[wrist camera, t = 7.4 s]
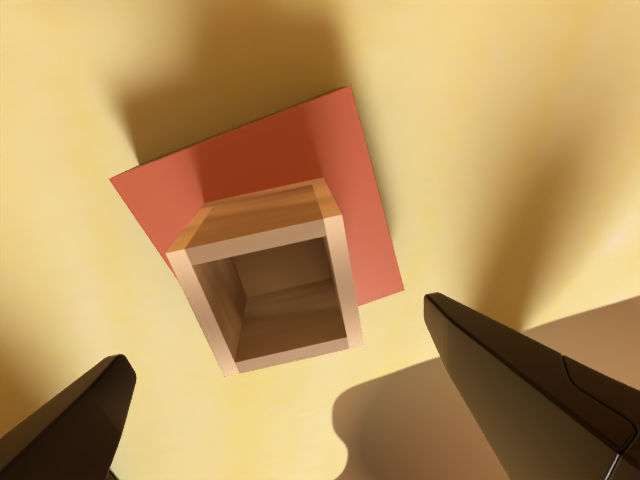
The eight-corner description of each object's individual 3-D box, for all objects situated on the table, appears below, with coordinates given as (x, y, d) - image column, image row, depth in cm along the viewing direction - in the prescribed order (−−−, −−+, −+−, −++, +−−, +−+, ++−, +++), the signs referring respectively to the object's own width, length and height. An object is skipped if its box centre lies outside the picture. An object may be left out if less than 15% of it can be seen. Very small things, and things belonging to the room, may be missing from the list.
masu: (341, 277, 16) (364, 345, 12) (241, 299, 16) (224, 376, 12) (323, 177, 14) (342, 214, 9) (204, 203, 14) (165, 253, 9)
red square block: (385, 260, 20) (404, 290, 17) (235, 313, 21) (226, 352, 18) (336, 88, 15) (350, 85, 12) (143, 163, 16) (108, 178, 13)
